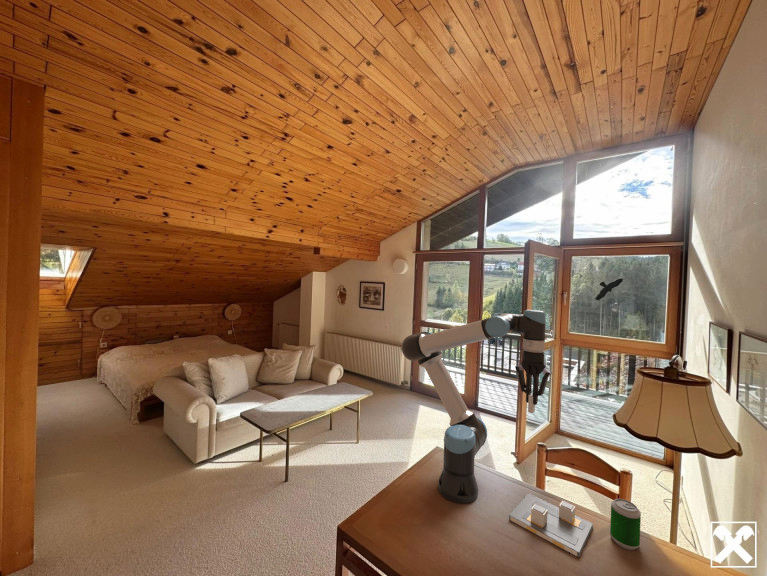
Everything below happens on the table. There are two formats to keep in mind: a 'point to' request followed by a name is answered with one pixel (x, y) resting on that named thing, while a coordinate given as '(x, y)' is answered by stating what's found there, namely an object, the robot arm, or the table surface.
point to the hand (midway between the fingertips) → (531, 411)
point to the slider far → (567, 511)
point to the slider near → (539, 515)
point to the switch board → (553, 525)
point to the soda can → (625, 524)
